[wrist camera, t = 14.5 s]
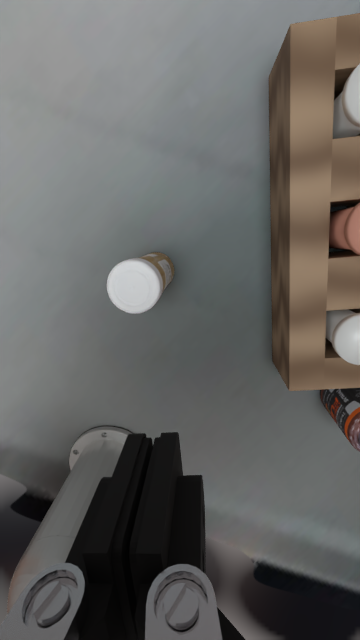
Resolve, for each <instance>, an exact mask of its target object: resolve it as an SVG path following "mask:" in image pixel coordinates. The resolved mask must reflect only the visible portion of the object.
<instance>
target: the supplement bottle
mask: <svg viewBox="0 0 360 640" xmlns="http://www.w3.org/2000/svg"><path fill="white" fill-rule="evenodd" d="M321 400H322V403H323V405H324V407H325V408H326V409H327V411H328V412H329V414H330V415H331V416H332V418H333V419H334V420H335V422H336V423H337V425H338V426H339V428H340V429H341V431H342V432H343V433H344V435H345V436H346V437H347V439H348V440H349V442H350V443H351V444H352V446H353V447H354V448H355V449H357V450H358V451H360V388H343V389H322V390H321Z"/></svg>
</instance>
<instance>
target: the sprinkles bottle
mask: <svg viewBox="0 0 360 640" xmlns="http://www.w3.org/2000/svg"><path fill="white" fill-rule="evenodd" d="M173 276H174V266H173V263H172V262H171V260H170V258H168V257H167V256H166V255H165V254H162V253H158V252H157V253H156V252H155V253H150V254H148V255H145V256H142V257H140V258H131V259H128V260H125V261H122V262H120V263H119V264H117V265H116V266H115V267H114V268H113V269H112V270H111V272H110V274H109V276H108V279H107V291H108V295H109V297H110V299H111V301H112V302H113V303H114V305H115V306H117V307H118V308H119V309H120V310H122V311H124V312H127V313H133V314H137V313H142V312H145V311H147V310H149V309H150V308H152V307H153V306H154V305H155V304H156V302H157V301H158V300H159V298H160V296H161V294H162V292H163V291H164V290H165V288H166V287H167V285H168V284H169V283H170V282H171V281H172V279H173Z"/></svg>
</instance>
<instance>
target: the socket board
mask: <svg viewBox="0 0 360 640" xmlns="http://www.w3.org/2000/svg"><path fill="white" fill-rule="evenodd" d="M359 64H360V13H358V14H352V15H345V16H339V17H333V18H326V19H320V20H314V21H307V22H301V23H295V24H290V27H289V29H288V32H287V34H286V37H285V39H284V41H283V44H282V46H281V49H280V51H279V54H278V56H277V59H276V61H275V63H274V66H273V68H272V71H271V73H270V76H269V124H270V204H271V285H272V361H273V363H274V365H275V367H276V368H277V370H278V372H279V374H280V375H281V377H282V379H283V381H284V382H285V384H286V386H287V388H288V389H289V391H298V390H321V389H343V388H360V365H355V364H351V363H349V362H347V361H345V360H344V359H343V358H341V357H340V356H339V355H338V354H337V353H336V352H335V350H334V348H333V346H332V342H330V341H329V340H328V339H327V338H325V337H326V311H330V310H344V309H348V310H350V311H352V312H354V313H360V255H358V254H356V253H355V252H353V251H352V250H350V249H345V251H336V252H329V225H330V207H338V206H347V208H352V207H355V206H356V205H357V204H358V203H360V134H358V135H357V136H355V137H346V138H338V139H333V112H334V100H335V99H336V98H337V97H338V96H339V95H340V94H341V93H342V92H343V88H344V85H345V83H346V81H347V79H348V77H349V76H350V74H351V73H352V72H353V70H354V69H355V68H356V67H357V66H358V65H359Z"/></svg>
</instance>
